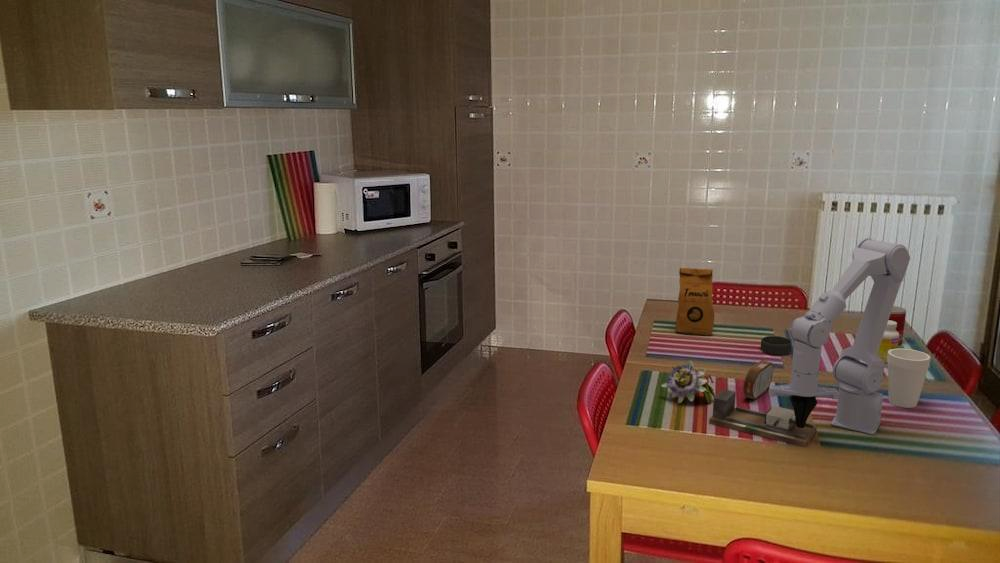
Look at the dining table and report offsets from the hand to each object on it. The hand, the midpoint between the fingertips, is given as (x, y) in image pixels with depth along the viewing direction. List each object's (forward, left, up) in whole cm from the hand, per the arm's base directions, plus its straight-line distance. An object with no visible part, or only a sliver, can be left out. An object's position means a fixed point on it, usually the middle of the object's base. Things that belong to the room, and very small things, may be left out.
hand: (799, 426), depth 168 cm
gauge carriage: (+5, +1, -1) cm, 5 cm away
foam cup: (-17, -35, -3) cm, 39 cm away
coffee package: (+49, -63, -3) cm, 80 cm away
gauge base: (+8, 0, -2) cm, 9 cm away
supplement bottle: (-8, -64, -3) cm, 65 cm away
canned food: (-6, -88, -3) cm, 88 cm away
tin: (+15, -20, -3) cm, 25 cm away
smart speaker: (+21, -58, -3) cm, 62 cm away
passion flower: (+29, -7, -3) cm, 30 cm away
